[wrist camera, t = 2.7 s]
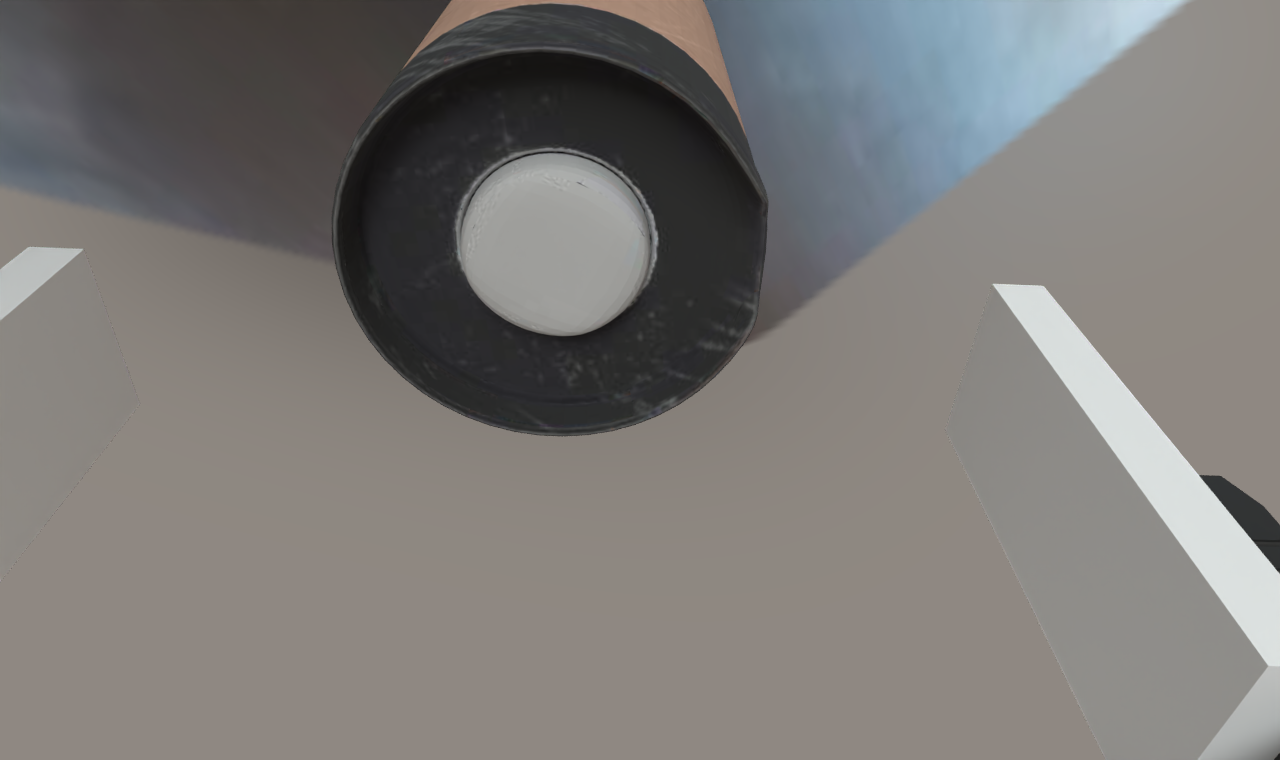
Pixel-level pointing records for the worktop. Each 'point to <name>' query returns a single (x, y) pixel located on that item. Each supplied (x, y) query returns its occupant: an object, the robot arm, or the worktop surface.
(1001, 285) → the robot arm
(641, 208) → the travel mug
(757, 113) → the worktop surface
